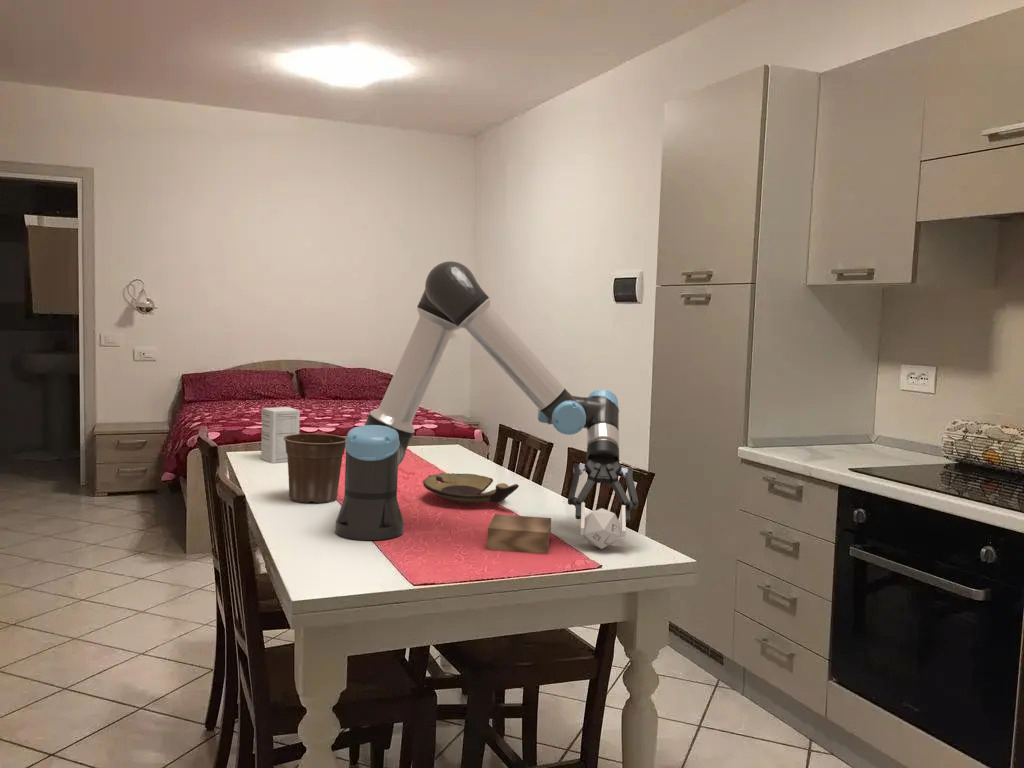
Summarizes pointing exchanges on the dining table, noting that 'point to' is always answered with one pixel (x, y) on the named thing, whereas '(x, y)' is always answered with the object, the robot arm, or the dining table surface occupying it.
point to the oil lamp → (467, 488)
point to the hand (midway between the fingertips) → (602, 532)
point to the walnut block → (519, 533)
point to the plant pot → (314, 466)
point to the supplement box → (277, 432)
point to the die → (602, 528)
